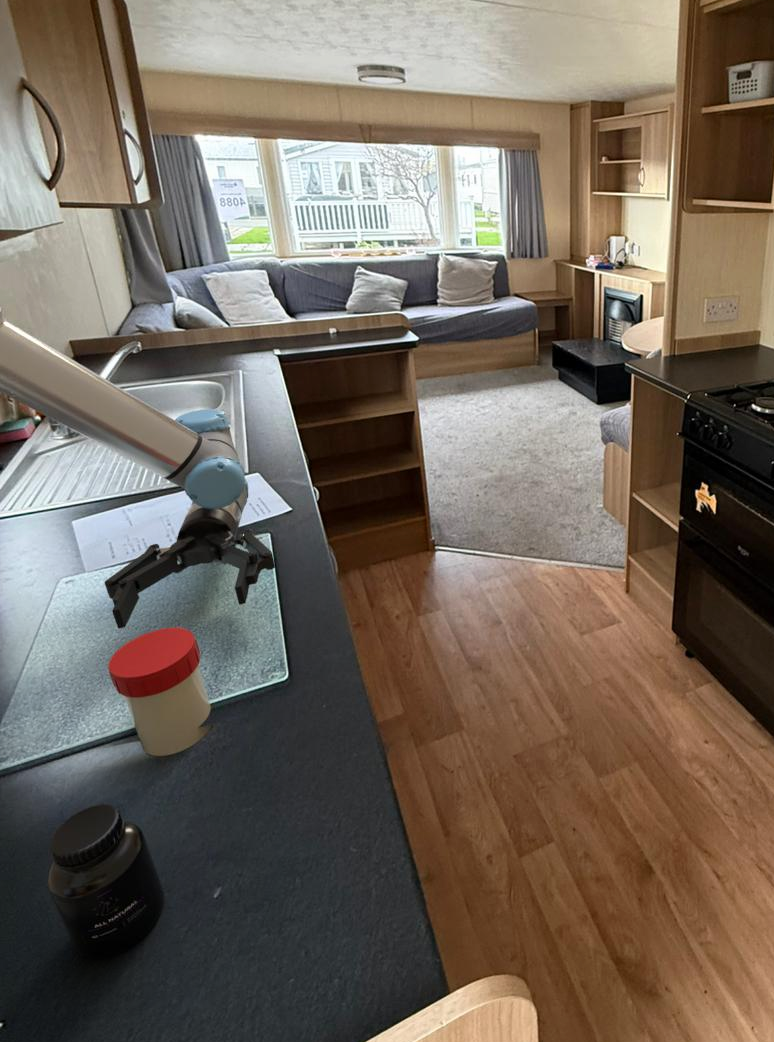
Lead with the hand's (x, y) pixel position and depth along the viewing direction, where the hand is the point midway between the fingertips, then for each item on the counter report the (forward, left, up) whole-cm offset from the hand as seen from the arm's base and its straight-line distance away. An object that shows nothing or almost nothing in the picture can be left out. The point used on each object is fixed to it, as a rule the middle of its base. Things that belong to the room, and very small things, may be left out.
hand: (180, 607), depth 83 cm
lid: (-1, -9, 0) cm, 9 cm away
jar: (-1, -9, -12) cm, 15 cm away
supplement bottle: (+1, -32, -12) cm, 34 cm away
